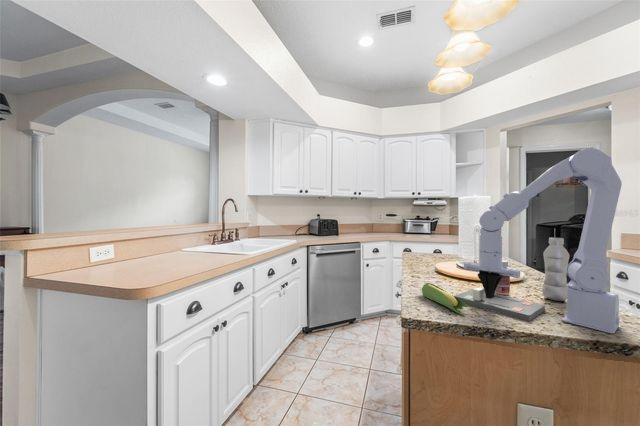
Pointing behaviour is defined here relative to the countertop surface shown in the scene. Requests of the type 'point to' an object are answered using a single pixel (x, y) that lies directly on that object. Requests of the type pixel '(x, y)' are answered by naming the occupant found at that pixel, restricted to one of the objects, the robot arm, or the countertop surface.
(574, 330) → the countertop surface
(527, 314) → the breaker panel
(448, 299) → the edible corn
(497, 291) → the pill bottle
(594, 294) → the robot arm
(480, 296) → the block
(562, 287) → the plastic bottle
